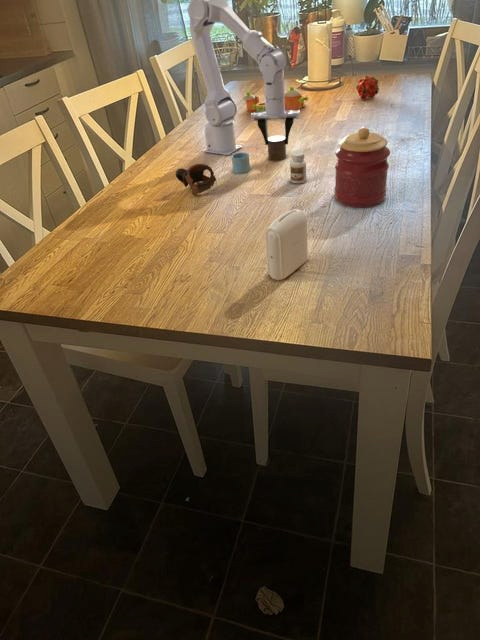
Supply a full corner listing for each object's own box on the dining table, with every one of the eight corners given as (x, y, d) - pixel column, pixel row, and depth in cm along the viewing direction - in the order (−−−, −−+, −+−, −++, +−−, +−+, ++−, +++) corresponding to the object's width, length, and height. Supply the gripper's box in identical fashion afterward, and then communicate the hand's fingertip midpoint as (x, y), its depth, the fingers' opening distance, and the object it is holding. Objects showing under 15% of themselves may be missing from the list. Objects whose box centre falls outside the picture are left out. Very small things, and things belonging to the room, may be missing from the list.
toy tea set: (308, 103, 201) (308, 78, 195) (307, 115, 189) (306, 87, 183) (245, 107, 206) (243, 82, 200) (239, 118, 194) (237, 91, 188)
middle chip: (264, 153, 155) (264, 147, 153) (273, 147, 158) (273, 141, 157) (280, 155, 152) (280, 149, 151) (289, 149, 155) (288, 143, 154)
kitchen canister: (355, 213, 121) (359, 140, 110) (324, 195, 131) (325, 127, 120) (396, 199, 125) (404, 127, 115) (363, 183, 135) (368, 116, 124)
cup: (230, 172, 150) (228, 157, 147) (239, 166, 153) (237, 151, 151) (244, 174, 148) (242, 159, 145) (253, 168, 151) (252, 153, 148)
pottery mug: (219, 183, 145) (220, 164, 138) (210, 208, 142) (210, 190, 134) (180, 173, 146) (178, 153, 138) (170, 198, 142) (168, 180, 134)
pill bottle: (288, 183, 139) (288, 156, 135) (292, 177, 142) (292, 150, 138) (304, 184, 138) (303, 156, 133) (307, 178, 141) (307, 151, 136)
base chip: (265, 159, 156) (264, 153, 155) (274, 153, 159) (273, 147, 158) (280, 161, 153) (280, 155, 152) (289, 155, 157) (289, 149, 155)
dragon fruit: (370, 97, 206) (366, 110, 199) (354, 85, 205) (349, 97, 197) (384, 80, 200) (380, 92, 192) (367, 67, 198) (362, 79, 191)
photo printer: (282, 283, 100) (279, 227, 92) (265, 276, 102) (261, 222, 95) (310, 260, 106) (310, 206, 98) (294, 255, 108) (292, 202, 101)
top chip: (264, 147, 153) (264, 140, 152) (273, 141, 157) (273, 134, 156) (280, 149, 151) (279, 142, 149) (289, 143, 154) (288, 136, 153)
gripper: (248, 102, 143) (251, 149, 152) (298, 99, 141) (299, 147, 149) (251, 95, 149) (254, 141, 157) (299, 92, 146) (300, 139, 155)
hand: (276, 143), depth 154 cm, fingers closed on top chip, 5 cm apart
